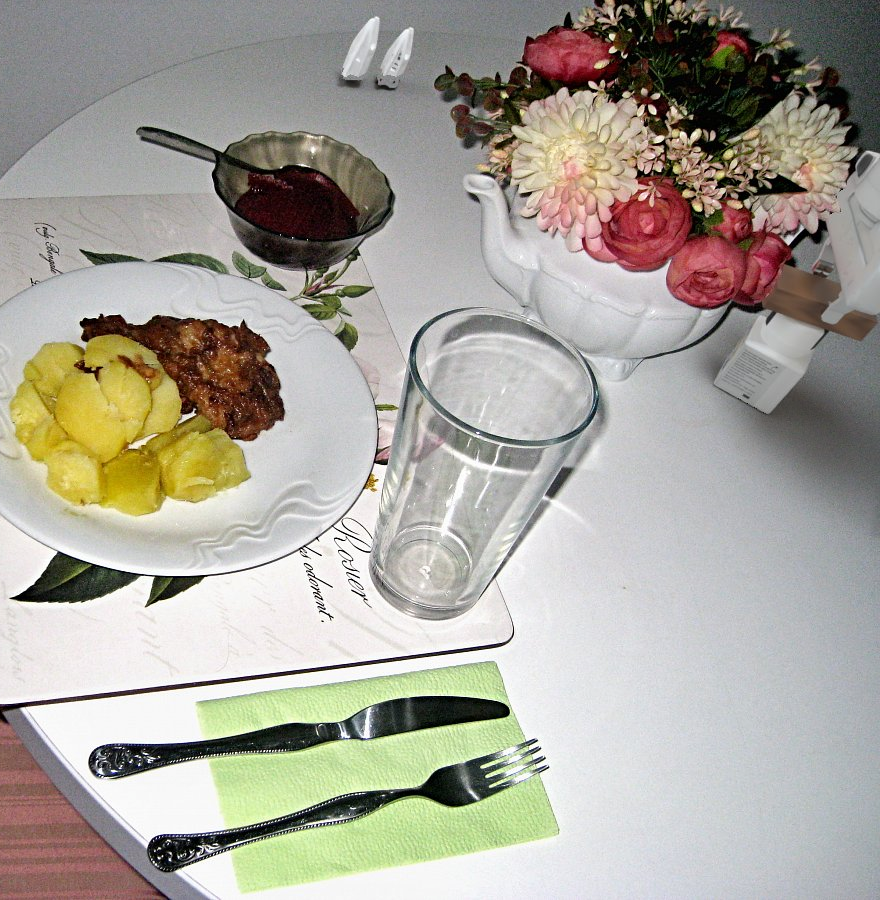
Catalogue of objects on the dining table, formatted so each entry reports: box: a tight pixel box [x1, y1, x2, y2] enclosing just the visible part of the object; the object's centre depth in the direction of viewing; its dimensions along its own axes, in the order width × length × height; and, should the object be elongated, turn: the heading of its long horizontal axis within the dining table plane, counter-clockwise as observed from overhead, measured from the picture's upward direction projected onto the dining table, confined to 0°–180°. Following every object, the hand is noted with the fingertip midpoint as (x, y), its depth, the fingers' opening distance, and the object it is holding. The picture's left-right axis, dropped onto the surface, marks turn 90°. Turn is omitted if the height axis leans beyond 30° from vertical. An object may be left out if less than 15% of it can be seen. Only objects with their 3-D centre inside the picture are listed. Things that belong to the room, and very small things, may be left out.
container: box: [713, 311, 830, 415], centre depth 113 cm, size 8×8×13 cm
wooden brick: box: [761, 263, 879, 342], centre depth 107 cm, size 12×6×3 cm, turn 73°
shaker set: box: [340, 16, 415, 77], centre depth 148 cm, size 12×4×11 cm, turn 106°
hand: (821, 296), depth 106 cm, fingers open, 8 cm apart
